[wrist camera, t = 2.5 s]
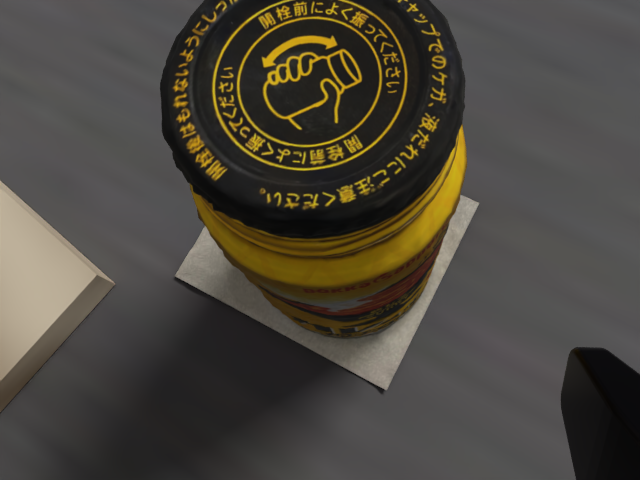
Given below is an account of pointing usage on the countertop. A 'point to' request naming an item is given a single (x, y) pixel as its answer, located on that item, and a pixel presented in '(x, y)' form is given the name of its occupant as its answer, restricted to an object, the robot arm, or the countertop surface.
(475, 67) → the countertop surface
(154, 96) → the countertop surface
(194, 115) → the condiment
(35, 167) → the countertop surface
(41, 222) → the birch board
